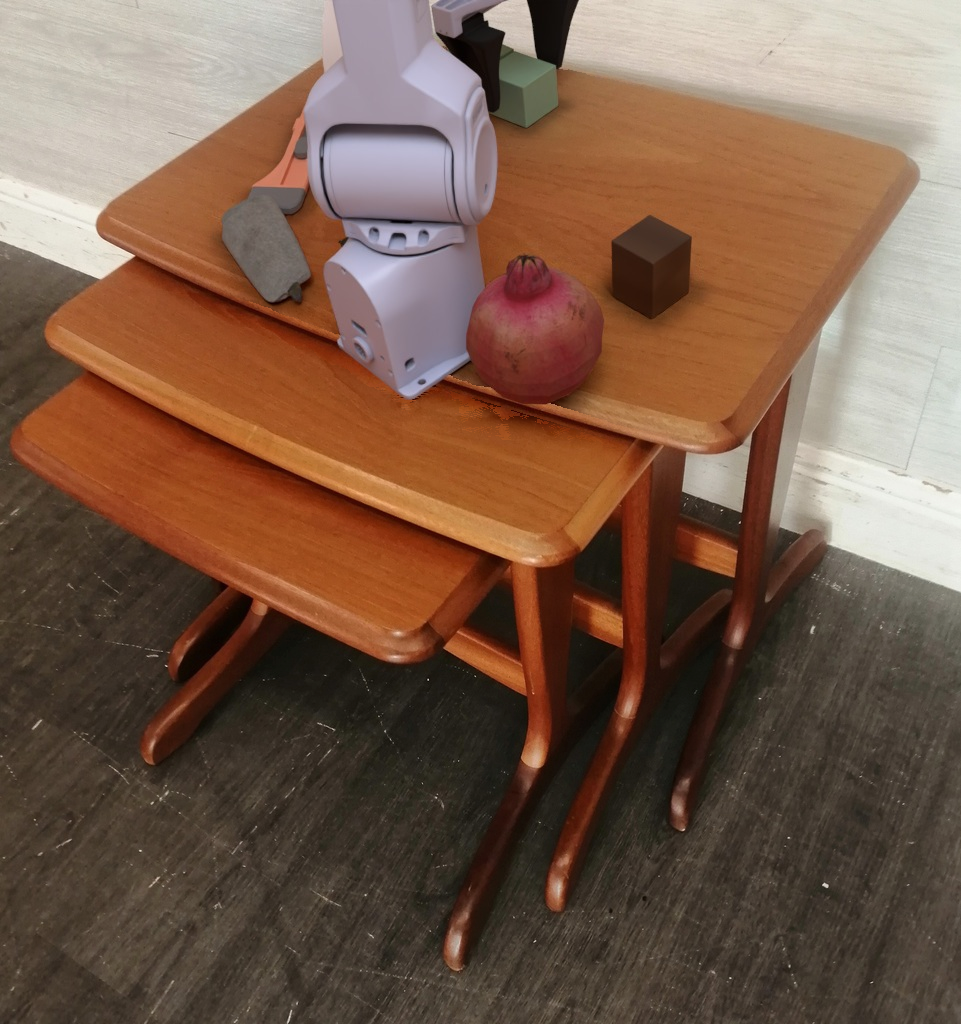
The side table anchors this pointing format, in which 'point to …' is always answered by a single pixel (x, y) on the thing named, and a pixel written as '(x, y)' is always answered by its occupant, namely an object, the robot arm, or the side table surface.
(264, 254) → the stone
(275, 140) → the side table surface
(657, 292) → the dark brown block
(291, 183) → the utility knife
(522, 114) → the sage green cube
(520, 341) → the fruit
